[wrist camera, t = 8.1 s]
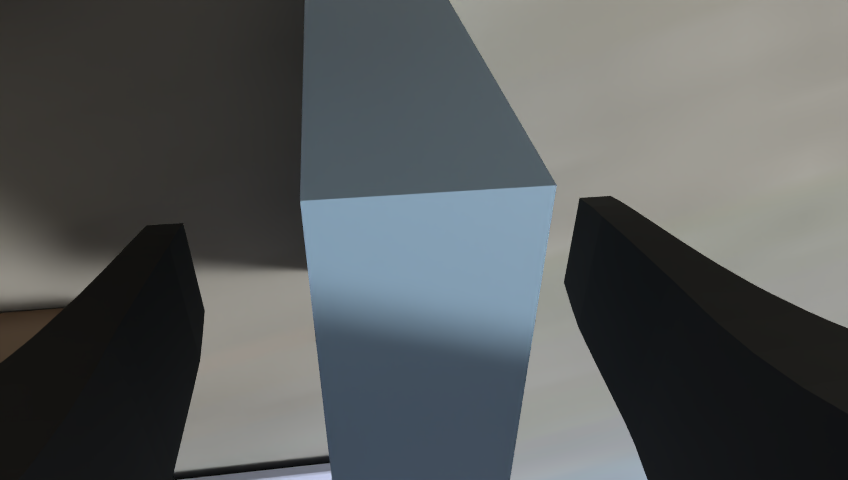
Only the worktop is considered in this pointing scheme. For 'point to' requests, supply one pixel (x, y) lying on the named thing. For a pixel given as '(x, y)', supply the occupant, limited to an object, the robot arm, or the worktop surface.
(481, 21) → the worktop surface
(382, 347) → the panel
